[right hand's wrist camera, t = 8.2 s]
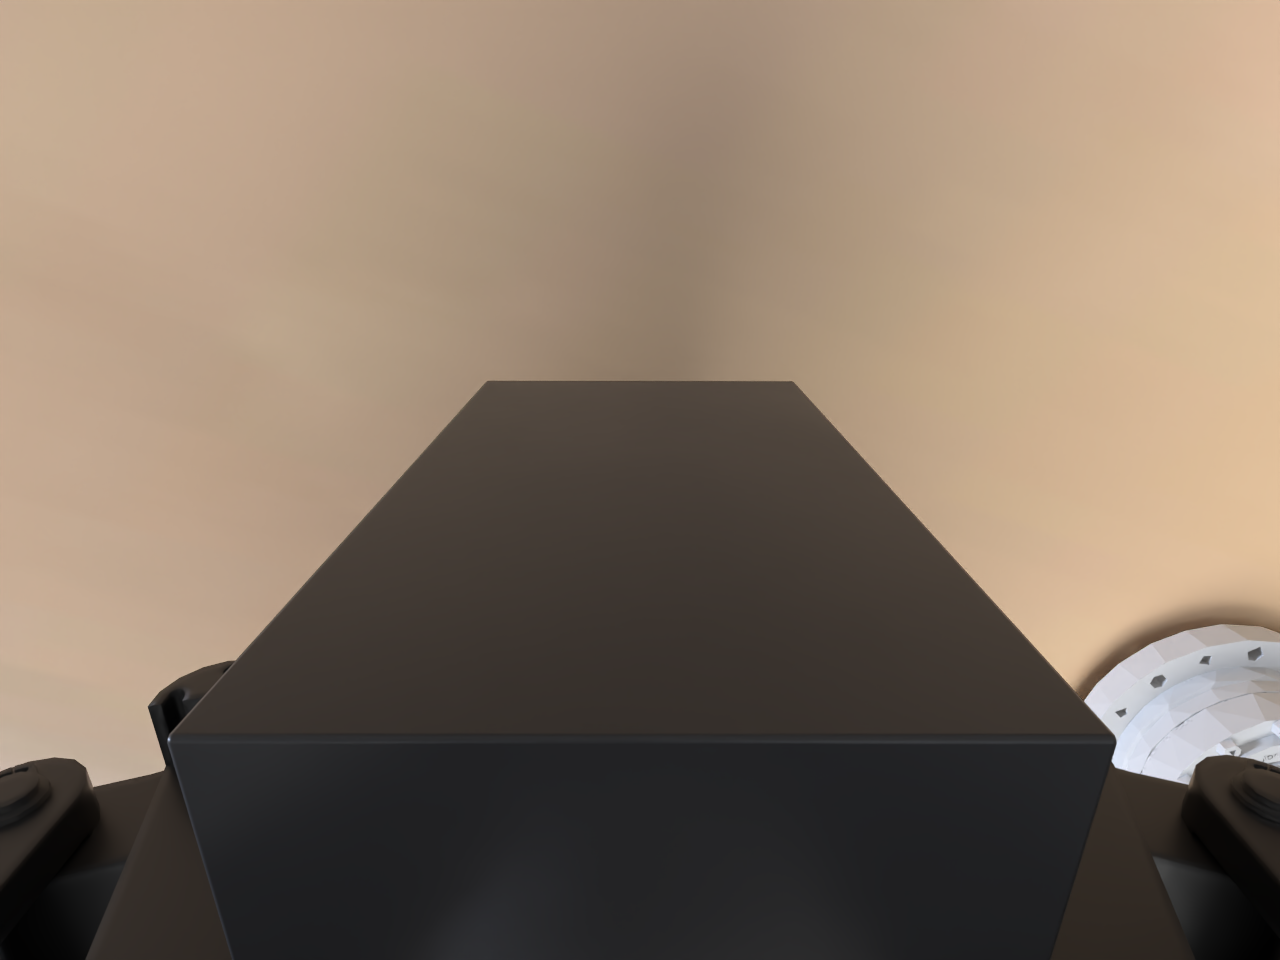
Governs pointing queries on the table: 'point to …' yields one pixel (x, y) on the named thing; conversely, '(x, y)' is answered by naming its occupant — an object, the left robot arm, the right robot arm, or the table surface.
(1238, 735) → the mechanical component
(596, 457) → the box
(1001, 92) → the table surface
